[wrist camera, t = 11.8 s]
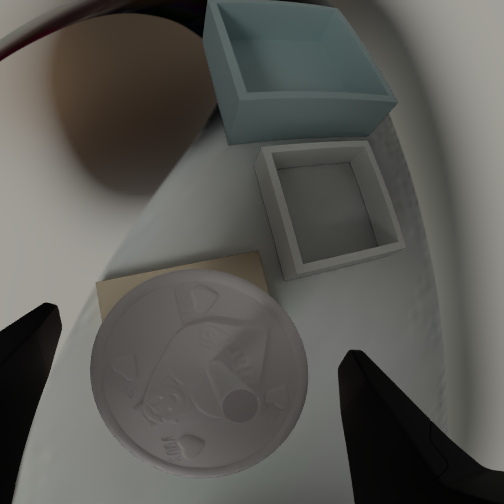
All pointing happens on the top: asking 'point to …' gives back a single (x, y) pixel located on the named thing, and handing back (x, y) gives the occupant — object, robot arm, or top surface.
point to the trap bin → (291, 72)
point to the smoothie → (199, 373)
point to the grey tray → (368, 184)
